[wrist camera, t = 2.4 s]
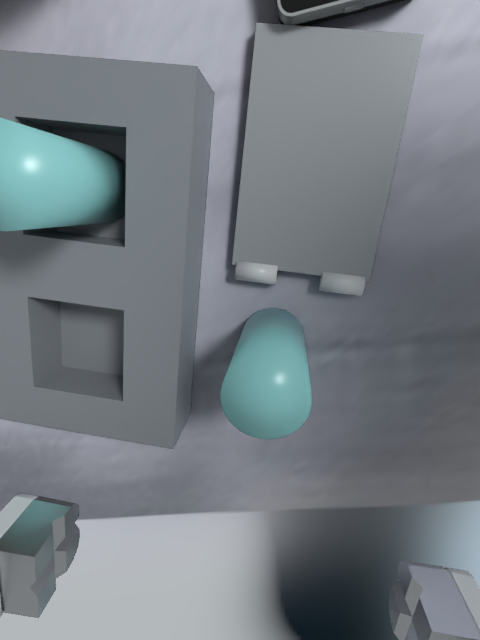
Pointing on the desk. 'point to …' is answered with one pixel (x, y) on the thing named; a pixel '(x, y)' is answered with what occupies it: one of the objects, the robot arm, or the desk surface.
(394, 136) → the lid
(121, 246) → the block
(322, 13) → the external hard drive
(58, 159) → the teal rounded peg
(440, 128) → the desk surface
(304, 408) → the teal tapered capsule
